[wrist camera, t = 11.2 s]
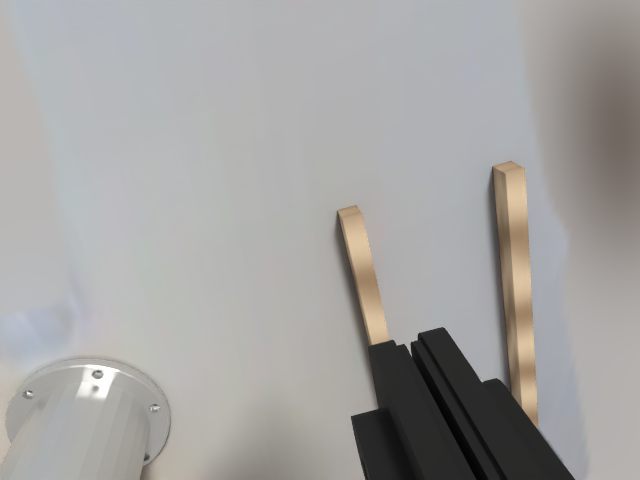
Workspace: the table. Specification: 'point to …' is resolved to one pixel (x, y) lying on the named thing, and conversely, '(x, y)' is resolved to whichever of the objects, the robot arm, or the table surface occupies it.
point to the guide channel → (512, 268)
